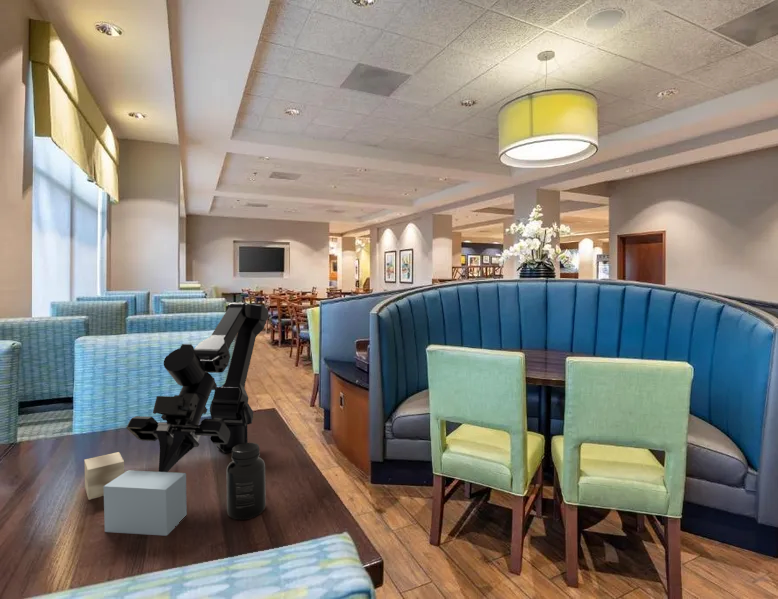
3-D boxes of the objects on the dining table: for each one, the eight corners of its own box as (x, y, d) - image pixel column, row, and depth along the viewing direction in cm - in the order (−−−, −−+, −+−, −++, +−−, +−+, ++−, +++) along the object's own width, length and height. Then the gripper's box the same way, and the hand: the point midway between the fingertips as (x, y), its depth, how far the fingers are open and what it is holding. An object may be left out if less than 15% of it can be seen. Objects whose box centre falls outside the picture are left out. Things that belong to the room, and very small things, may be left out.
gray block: (129, 512, 78) (128, 470, 78) (186, 516, 77) (185, 473, 77) (104, 532, 72) (103, 486, 72) (166, 536, 71) (165, 489, 71)
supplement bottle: (273, 504, 81) (272, 442, 80) (250, 524, 75) (249, 457, 74) (243, 498, 83) (242, 438, 83) (218, 516, 77) (217, 451, 76)
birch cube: (119, 479, 91) (118, 451, 90) (124, 490, 86) (124, 461, 86) (85, 488, 87) (84, 459, 86) (88, 500, 82) (87, 469, 82)
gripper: (131, 376, 84) (89, 453, 73) (223, 378, 82) (193, 458, 72) (157, 404, 92) (122, 477, 82) (240, 406, 91) (216, 482, 80)
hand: (161, 473), depth 79 cm, fingers closed
